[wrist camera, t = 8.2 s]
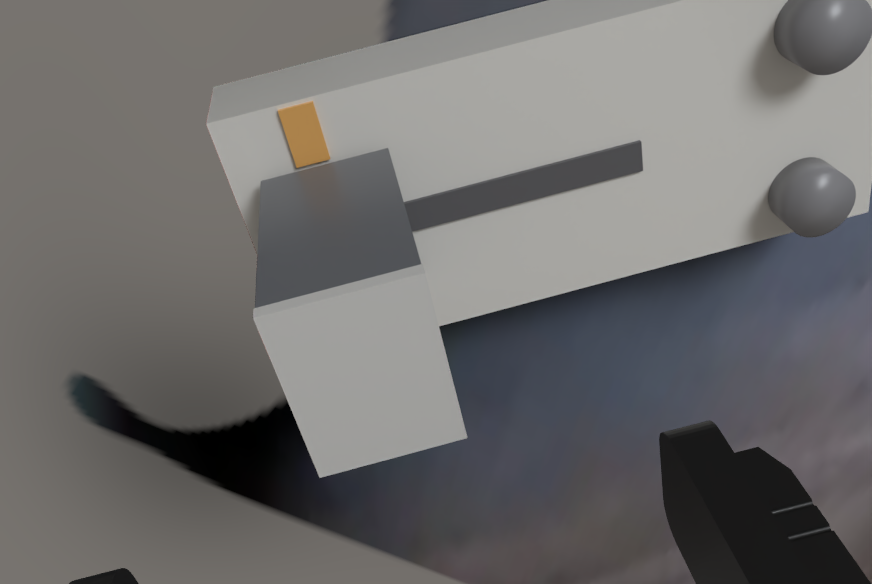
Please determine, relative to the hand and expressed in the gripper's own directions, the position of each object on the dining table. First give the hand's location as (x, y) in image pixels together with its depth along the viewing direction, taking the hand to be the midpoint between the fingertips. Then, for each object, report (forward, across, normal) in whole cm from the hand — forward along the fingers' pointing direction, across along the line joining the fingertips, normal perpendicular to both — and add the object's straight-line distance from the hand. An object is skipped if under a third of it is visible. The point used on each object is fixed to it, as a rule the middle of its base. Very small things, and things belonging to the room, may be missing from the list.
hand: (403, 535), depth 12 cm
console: (+12, -5, 0) cm, 13 cm away
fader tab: (+9, 0, 0) cm, 9 cm away
